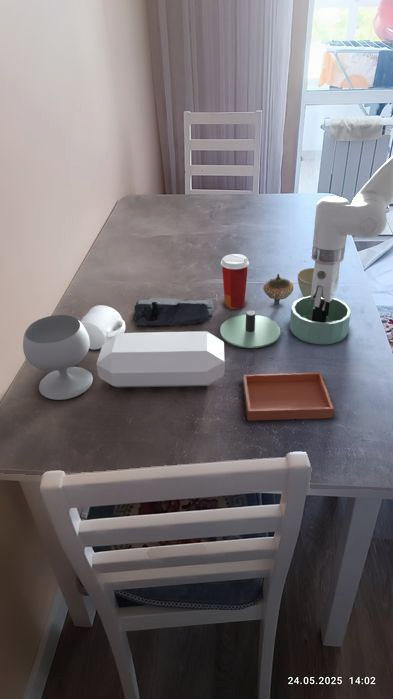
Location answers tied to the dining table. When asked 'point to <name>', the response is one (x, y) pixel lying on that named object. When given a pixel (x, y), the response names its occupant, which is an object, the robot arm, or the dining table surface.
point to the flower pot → (305, 281)
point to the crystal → (161, 359)
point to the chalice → (58, 355)
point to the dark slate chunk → (172, 311)
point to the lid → (250, 331)
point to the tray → (286, 396)
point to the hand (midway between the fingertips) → (319, 318)
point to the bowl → (319, 330)
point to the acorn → (278, 289)
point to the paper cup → (234, 279)
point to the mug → (102, 325)
